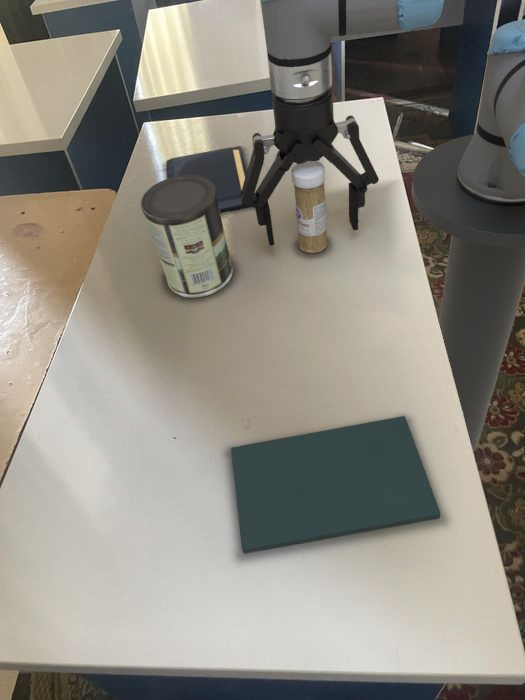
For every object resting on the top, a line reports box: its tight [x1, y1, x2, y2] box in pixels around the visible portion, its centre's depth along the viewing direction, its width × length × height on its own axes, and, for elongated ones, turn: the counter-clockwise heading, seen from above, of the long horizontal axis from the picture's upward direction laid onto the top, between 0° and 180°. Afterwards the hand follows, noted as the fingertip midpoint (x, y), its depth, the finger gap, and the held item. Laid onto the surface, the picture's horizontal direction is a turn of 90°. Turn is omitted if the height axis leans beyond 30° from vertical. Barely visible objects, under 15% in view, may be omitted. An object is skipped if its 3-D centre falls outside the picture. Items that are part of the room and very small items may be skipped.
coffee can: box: [140, 175, 234, 299], centre depth 81 cm, size 10×10×14 cm
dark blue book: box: [165, 145, 248, 213], centre depth 102 cm, size 20×2×15 cm
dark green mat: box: [230, 415, 442, 554], centre depth 61 cm, size 20×12×1 cm, turn 98°
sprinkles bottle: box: [291, 161, 329, 254], centre depth 83 cm, size 5×5×13 cm
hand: (312, 232), depth 86 cm, fingers open, 12 cm apart
